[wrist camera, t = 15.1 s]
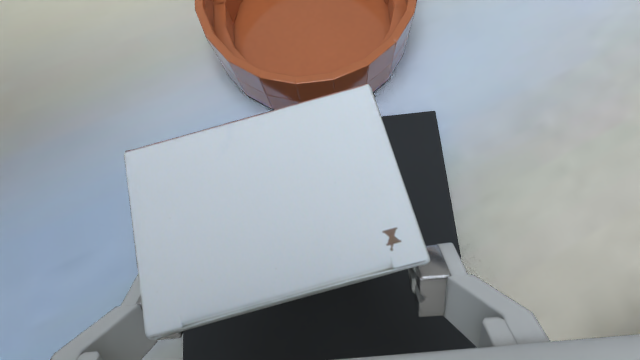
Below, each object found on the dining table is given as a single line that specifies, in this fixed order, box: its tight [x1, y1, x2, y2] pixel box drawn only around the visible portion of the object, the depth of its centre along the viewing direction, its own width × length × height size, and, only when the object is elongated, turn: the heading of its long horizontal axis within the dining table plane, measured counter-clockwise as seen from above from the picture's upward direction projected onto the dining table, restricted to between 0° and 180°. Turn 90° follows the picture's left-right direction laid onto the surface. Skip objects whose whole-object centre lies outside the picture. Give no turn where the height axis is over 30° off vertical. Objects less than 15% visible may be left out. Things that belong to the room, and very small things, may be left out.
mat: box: [183, 111, 477, 360], centre depth 28 cm, size 20×20×1 cm
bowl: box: [195, 0, 417, 110], centre depth 30 cm, size 16×16×6 cm
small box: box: [124, 84, 430, 340], centre depth 16 cm, size 8×6×10 cm
